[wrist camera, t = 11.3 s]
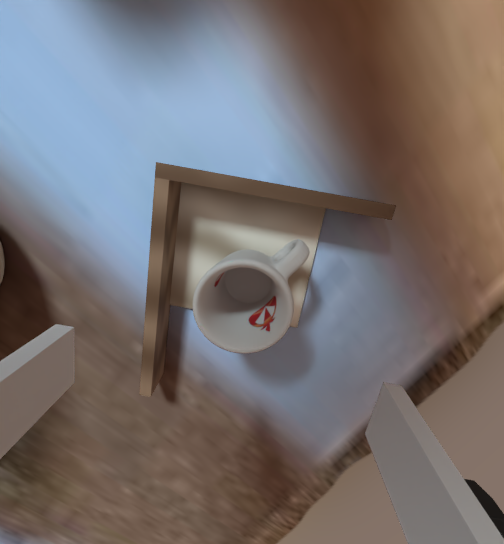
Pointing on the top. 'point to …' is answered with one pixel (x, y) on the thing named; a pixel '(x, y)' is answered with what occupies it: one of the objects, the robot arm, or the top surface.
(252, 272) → the cup
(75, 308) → the top surface
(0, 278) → the kettle
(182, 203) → the wooden corner frame
